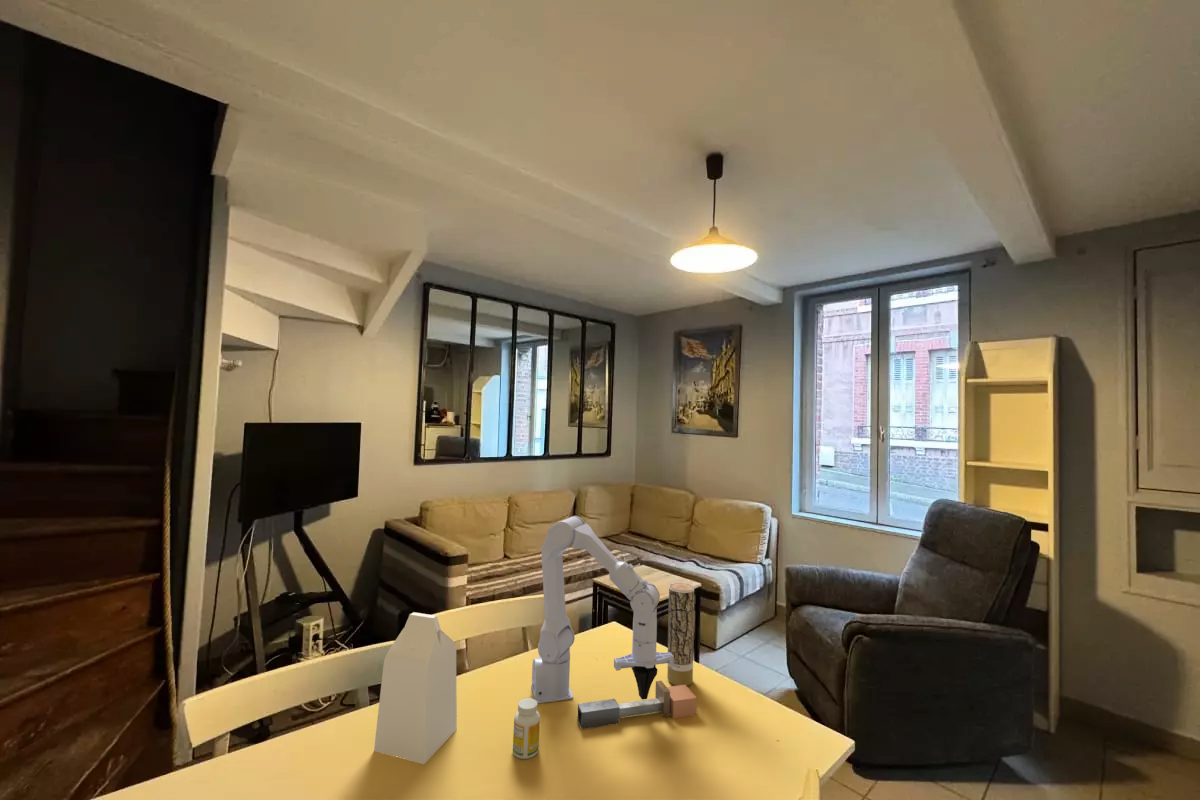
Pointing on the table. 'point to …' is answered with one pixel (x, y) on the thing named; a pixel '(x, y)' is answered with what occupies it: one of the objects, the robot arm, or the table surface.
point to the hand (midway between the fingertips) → (643, 697)
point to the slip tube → (649, 703)
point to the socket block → (682, 701)
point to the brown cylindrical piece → (681, 633)
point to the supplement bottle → (526, 729)
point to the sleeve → (598, 713)
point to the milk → (417, 691)
